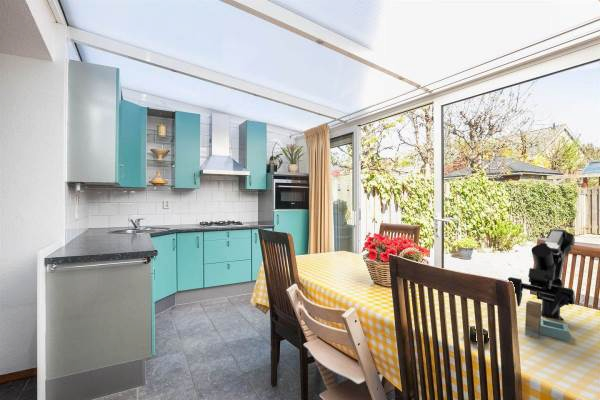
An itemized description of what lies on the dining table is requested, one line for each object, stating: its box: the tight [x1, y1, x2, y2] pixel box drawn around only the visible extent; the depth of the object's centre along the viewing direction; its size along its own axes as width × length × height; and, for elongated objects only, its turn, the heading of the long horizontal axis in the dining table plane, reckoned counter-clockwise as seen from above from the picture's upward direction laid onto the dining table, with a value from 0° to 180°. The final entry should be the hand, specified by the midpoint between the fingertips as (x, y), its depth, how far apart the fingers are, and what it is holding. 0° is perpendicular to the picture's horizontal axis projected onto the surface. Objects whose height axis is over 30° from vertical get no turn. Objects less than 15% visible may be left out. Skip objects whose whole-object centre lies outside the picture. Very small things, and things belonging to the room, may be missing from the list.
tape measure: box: [469, 325, 490, 344], centre depth 97 cm, size 7×7×4 cm
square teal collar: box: [540, 318, 570, 342], centre depth 105 cm, size 8×8×3 cm
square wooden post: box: [524, 300, 542, 339], centre depth 103 cm, size 4×4×11 cm
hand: (534, 309), depth 104 cm, fingers open, 9 cm apart
